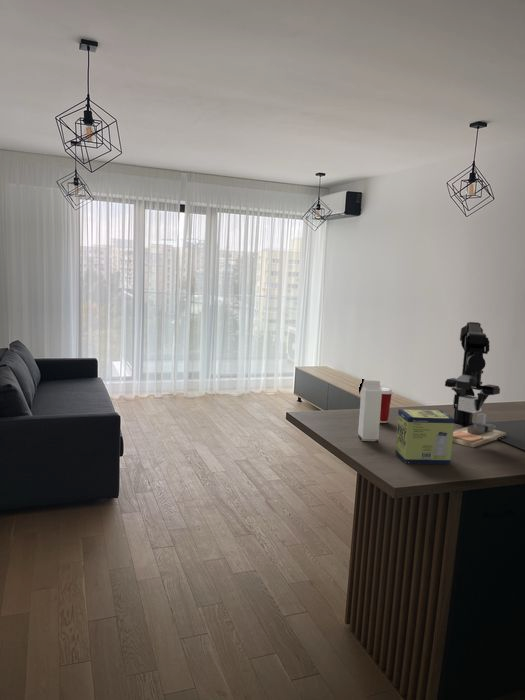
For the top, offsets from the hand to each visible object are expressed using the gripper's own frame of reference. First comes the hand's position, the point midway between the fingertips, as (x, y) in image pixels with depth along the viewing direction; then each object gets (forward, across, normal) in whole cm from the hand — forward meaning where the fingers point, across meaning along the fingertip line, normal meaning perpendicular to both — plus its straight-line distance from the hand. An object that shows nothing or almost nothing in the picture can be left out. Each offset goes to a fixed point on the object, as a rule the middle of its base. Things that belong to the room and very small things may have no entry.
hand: (469, 409), depth 198 cm
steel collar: (0, 0, 0) cm, 0 cm away
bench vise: (+11, -1, +14) cm, 17 cm away
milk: (+13, -22, -30) cm, 40 cm away
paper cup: (+12, -35, -5) cm, 38 cm away
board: (+12, -1, +8) cm, 14 cm away
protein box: (+13, +2, -33) cm, 35 cm away
